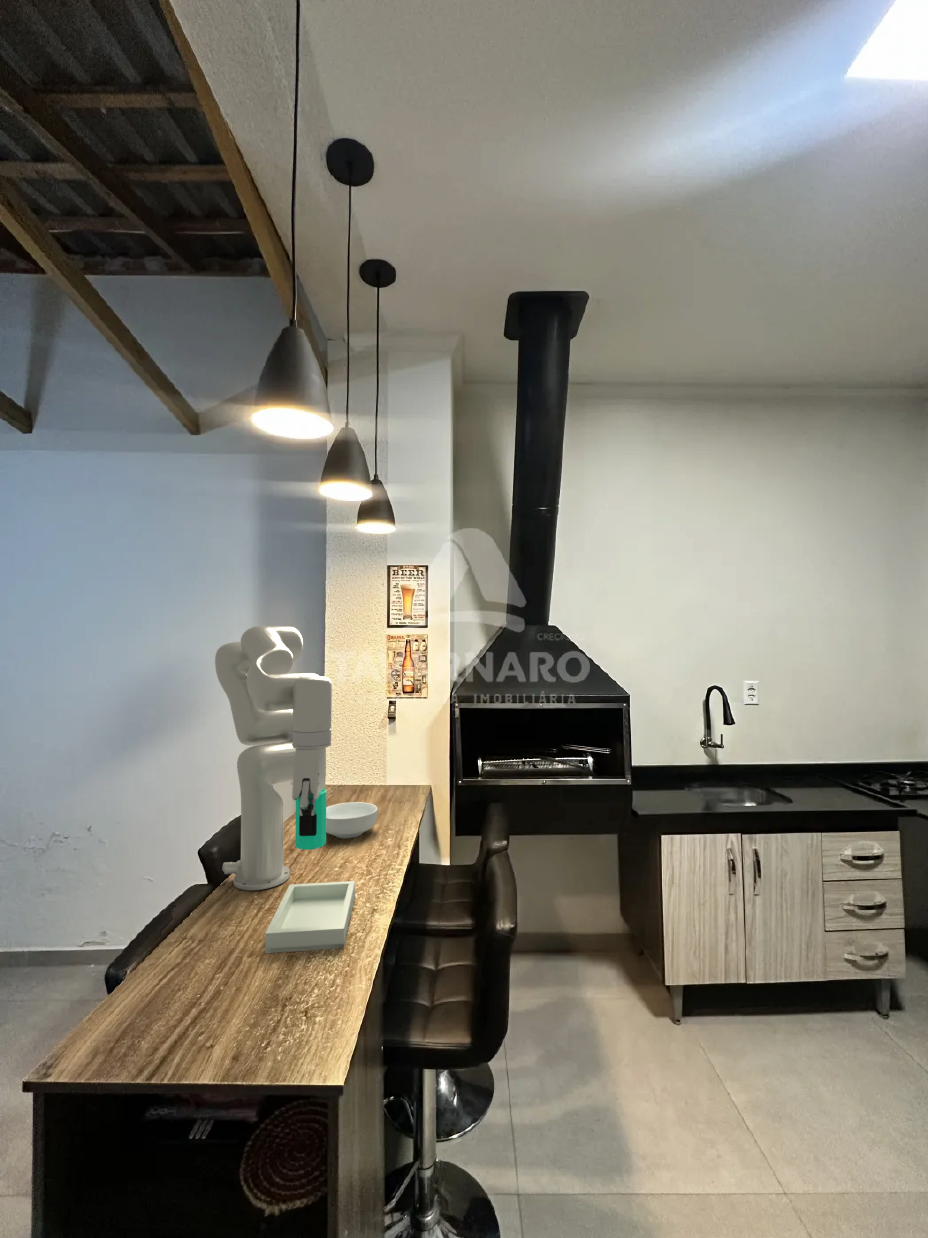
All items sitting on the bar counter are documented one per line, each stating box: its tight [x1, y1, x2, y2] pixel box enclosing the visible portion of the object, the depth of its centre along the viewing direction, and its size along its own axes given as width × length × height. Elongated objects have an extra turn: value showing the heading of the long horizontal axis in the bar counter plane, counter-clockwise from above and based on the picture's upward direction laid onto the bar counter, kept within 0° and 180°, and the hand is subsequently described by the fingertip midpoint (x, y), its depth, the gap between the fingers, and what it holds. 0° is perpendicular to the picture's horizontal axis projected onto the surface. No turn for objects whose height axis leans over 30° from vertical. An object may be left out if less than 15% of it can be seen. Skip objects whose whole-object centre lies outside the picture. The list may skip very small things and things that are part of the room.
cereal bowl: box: [326, 801, 379, 839], centre depth 159 cm, size 17×17×7 cm
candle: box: [294, 788, 327, 851], centre depth 107 cm, size 6×6×12 cm
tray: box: [264, 880, 356, 954], centre depth 108 cm, size 14×20×4 cm
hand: (310, 829), depth 107 cm, fingers closed on candle, 4 cm apart
